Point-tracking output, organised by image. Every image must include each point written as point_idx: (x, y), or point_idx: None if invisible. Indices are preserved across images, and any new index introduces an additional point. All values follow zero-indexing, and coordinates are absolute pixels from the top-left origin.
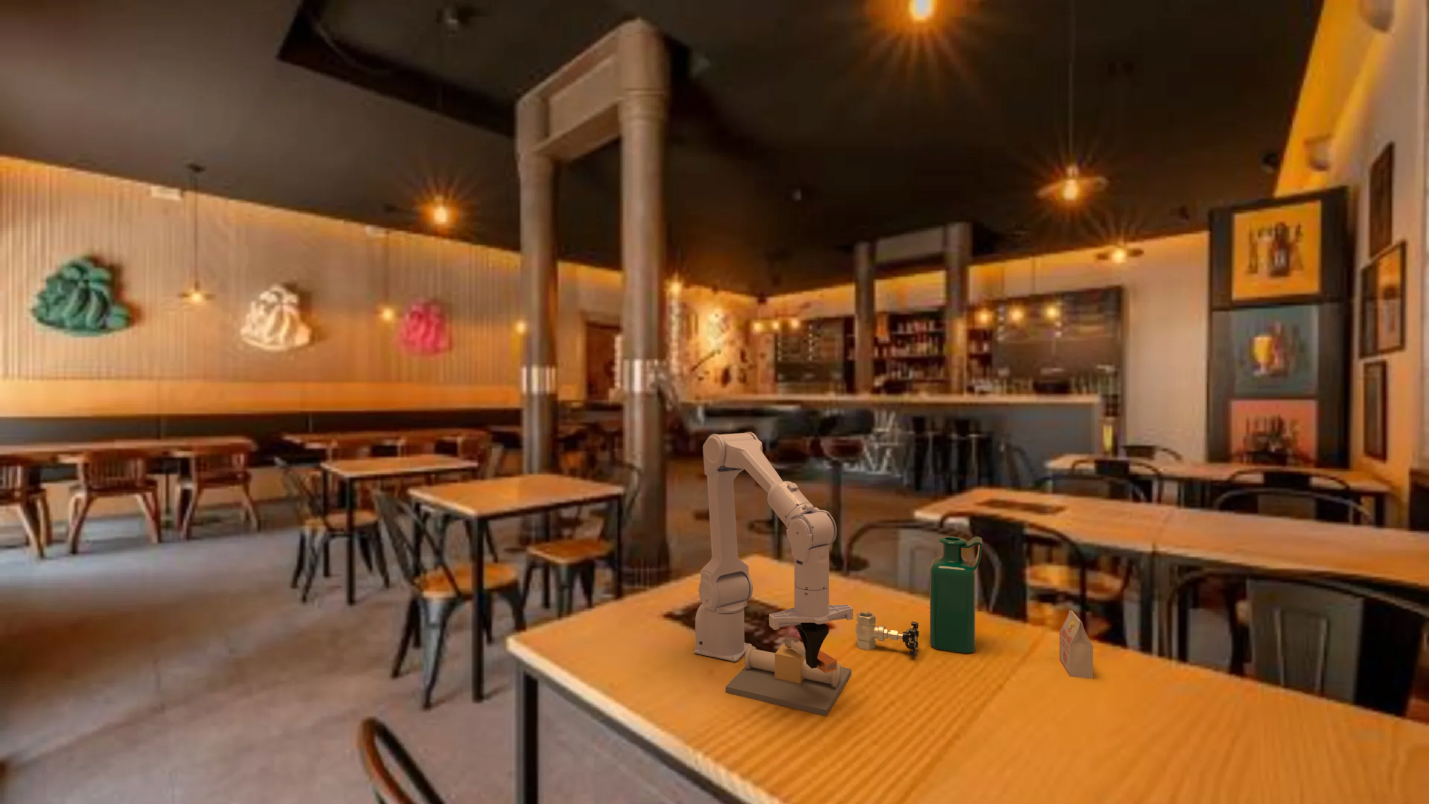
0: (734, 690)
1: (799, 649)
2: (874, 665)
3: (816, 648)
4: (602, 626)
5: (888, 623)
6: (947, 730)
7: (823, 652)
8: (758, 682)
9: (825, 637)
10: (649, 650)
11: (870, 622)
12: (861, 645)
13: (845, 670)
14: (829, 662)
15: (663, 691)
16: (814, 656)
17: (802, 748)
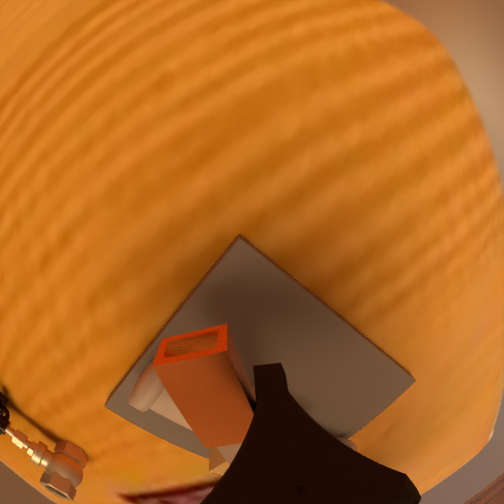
0: (405, 371)
1: None
2: (60, 404)
3: (279, 427)
4: (422, 485)
5: None
6: (2, 125)
7: (195, 433)
8: (351, 396)
9: (219, 485)
10: (419, 461)
11: (49, 477)
12: (78, 452)
13: (118, 405)
14: (199, 357)
15: (472, 371)
16: (280, 395)
17: (363, 109)
